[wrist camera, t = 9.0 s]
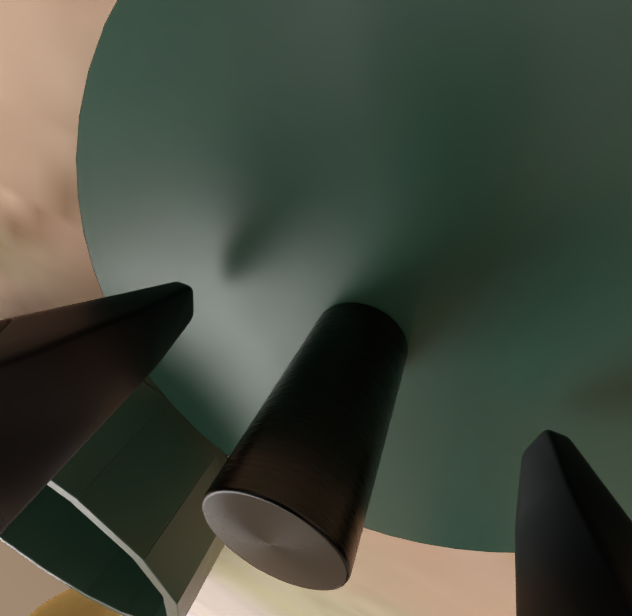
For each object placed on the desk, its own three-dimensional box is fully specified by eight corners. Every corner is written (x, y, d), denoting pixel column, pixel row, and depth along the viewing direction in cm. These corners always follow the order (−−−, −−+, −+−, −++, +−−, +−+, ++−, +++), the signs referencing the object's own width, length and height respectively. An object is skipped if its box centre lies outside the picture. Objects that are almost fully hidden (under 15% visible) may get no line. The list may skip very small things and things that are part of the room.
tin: (252, 407, 14) (167, 534, 10) (233, 562, 24) (185, 658, 20) (-55, 268, 17) (-211, 326, 14) (38, 456, 27) (-37, 522, 23)
